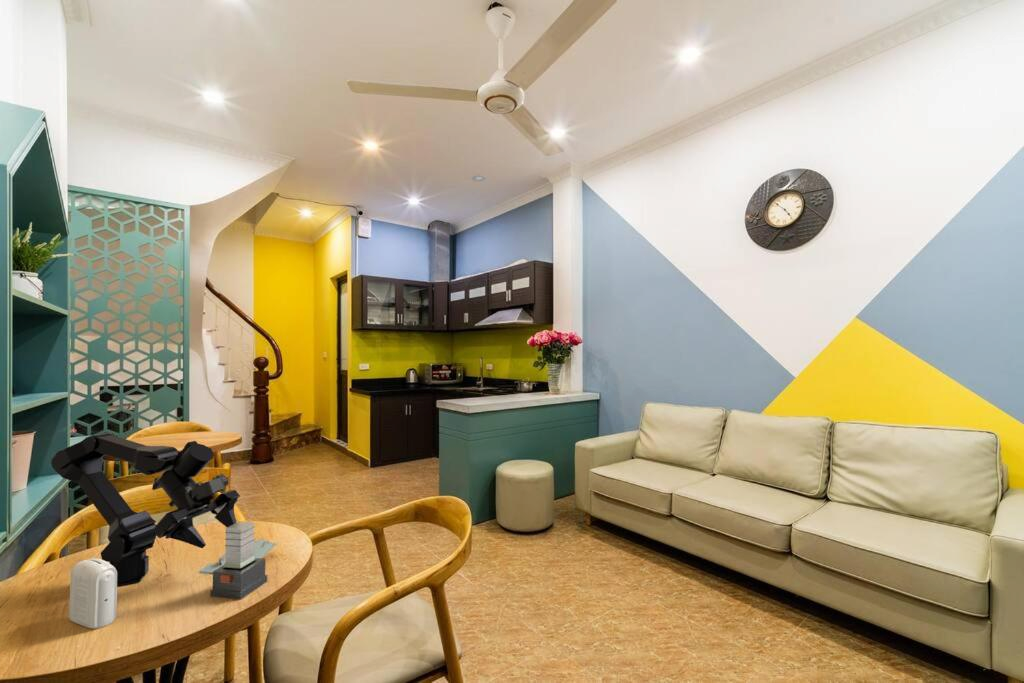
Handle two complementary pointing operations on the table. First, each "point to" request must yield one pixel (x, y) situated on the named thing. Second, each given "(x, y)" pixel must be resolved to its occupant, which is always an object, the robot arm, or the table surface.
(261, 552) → the metal bracket
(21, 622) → the table surface
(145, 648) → the table surface
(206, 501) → the robot arm
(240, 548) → the column
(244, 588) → the collar
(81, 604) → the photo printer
